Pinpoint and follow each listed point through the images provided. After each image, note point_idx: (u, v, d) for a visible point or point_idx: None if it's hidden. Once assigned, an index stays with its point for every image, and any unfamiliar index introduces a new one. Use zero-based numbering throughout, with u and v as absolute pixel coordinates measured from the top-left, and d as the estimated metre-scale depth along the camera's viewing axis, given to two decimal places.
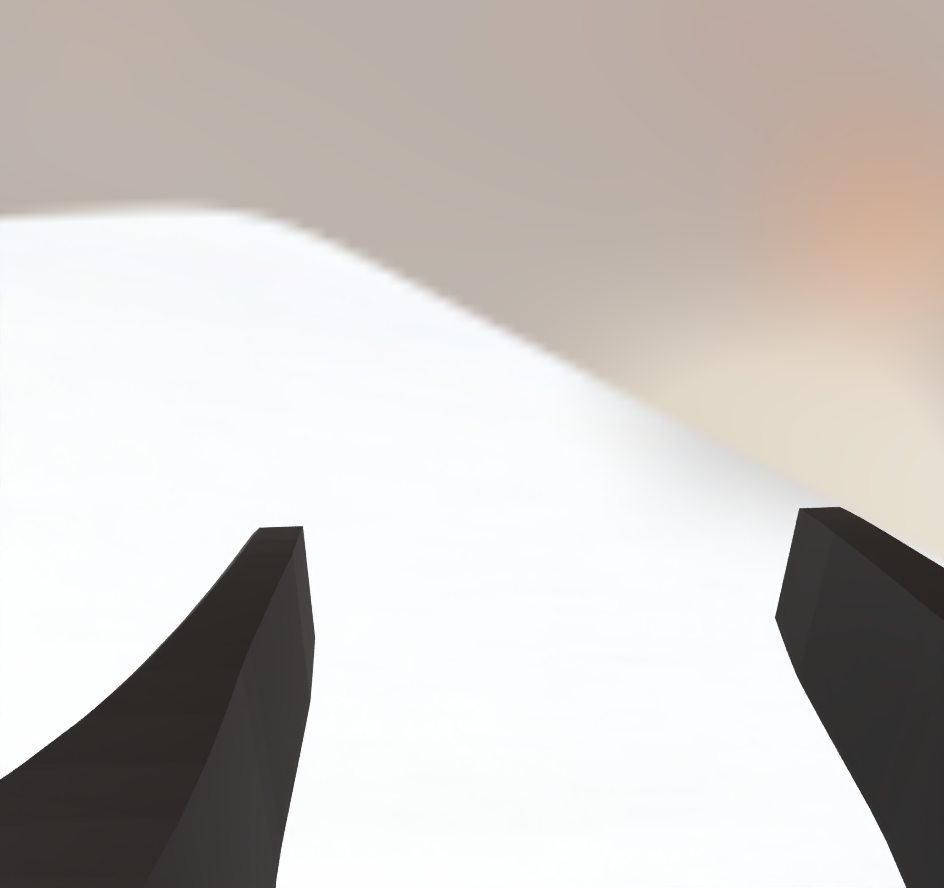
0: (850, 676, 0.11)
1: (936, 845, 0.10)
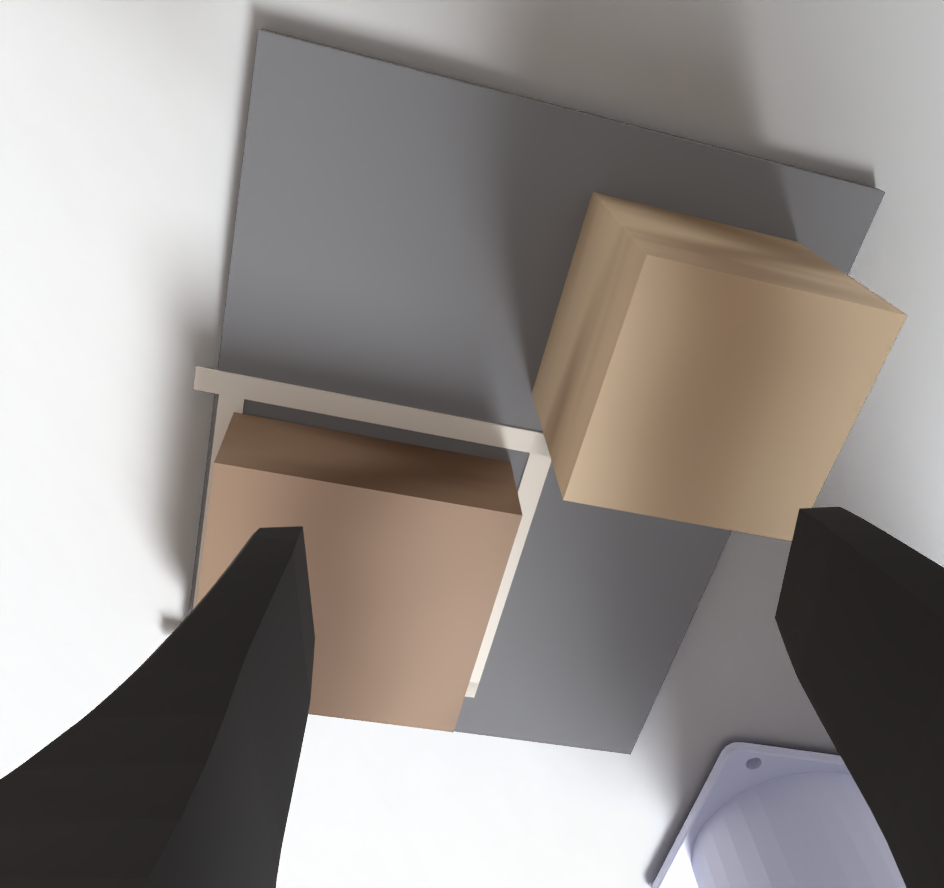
0: (850, 676, 0.11)
1: (936, 845, 0.10)
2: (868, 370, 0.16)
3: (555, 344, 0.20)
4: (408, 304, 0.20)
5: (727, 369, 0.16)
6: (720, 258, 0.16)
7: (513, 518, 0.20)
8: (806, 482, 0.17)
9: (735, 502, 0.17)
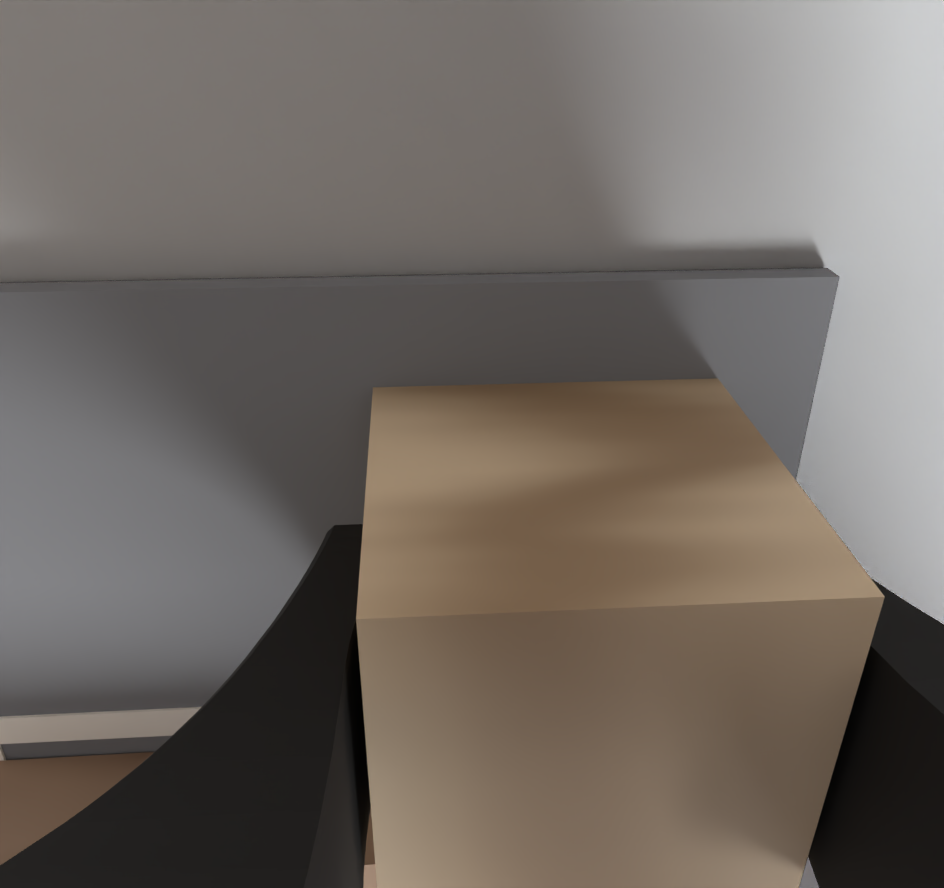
0: None
1: (845, 851, 0.10)
2: (837, 687, 0.09)
3: None
4: (166, 588, 0.14)
5: (578, 737, 0.09)
6: (529, 540, 0.09)
7: None
8: (781, 846, 0.10)
9: None
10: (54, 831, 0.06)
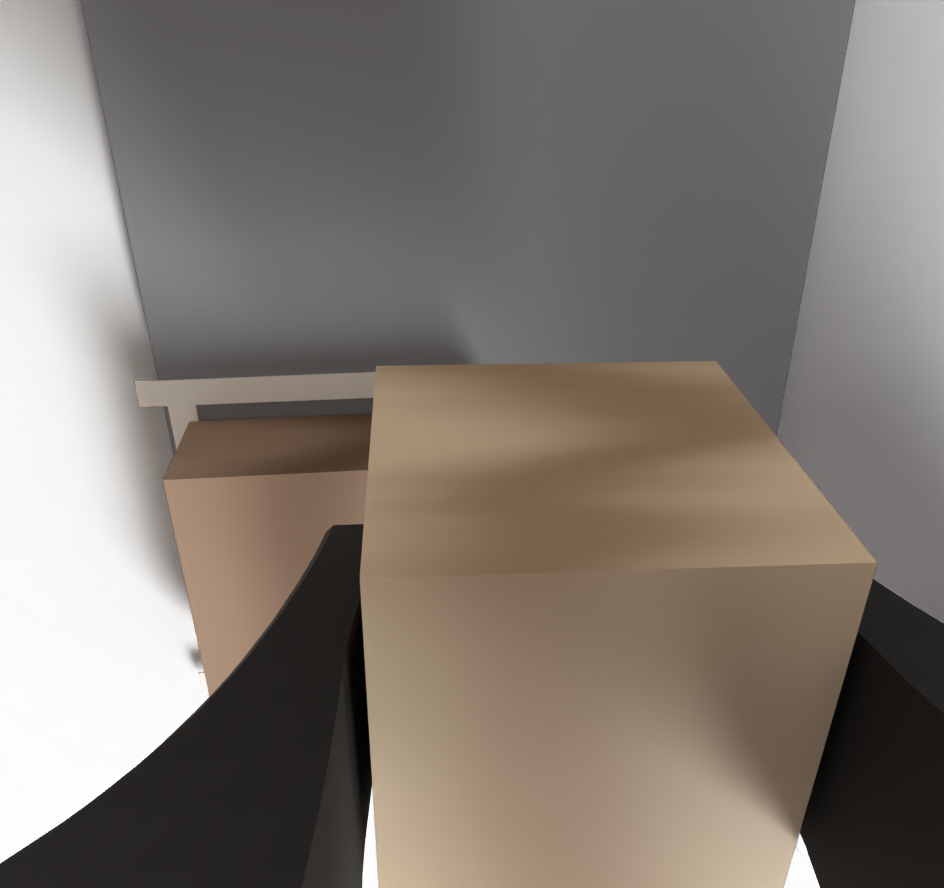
0: None
1: (846, 852, 0.10)
2: (831, 653, 0.09)
3: None
4: (337, 257, 0.18)
5: (575, 701, 0.09)
6: (530, 508, 0.09)
7: None
8: (774, 815, 0.10)
9: (663, 862, 0.10)
10: (51, 831, 0.06)
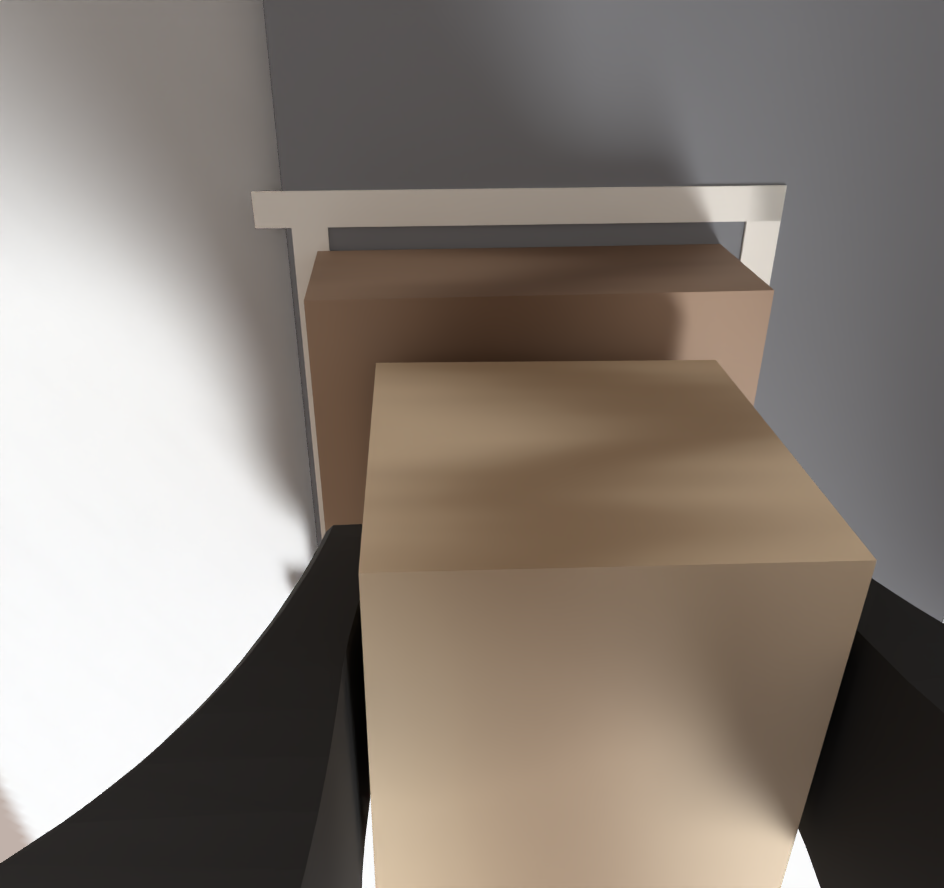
0: None
1: (846, 851, 0.10)
2: (829, 651, 0.09)
3: None
4: (534, 16, 0.13)
5: (573, 698, 0.09)
6: (529, 504, 0.09)
7: (761, 298, 0.13)
8: (772, 814, 0.10)
9: (660, 860, 0.10)
10: (51, 830, 0.06)
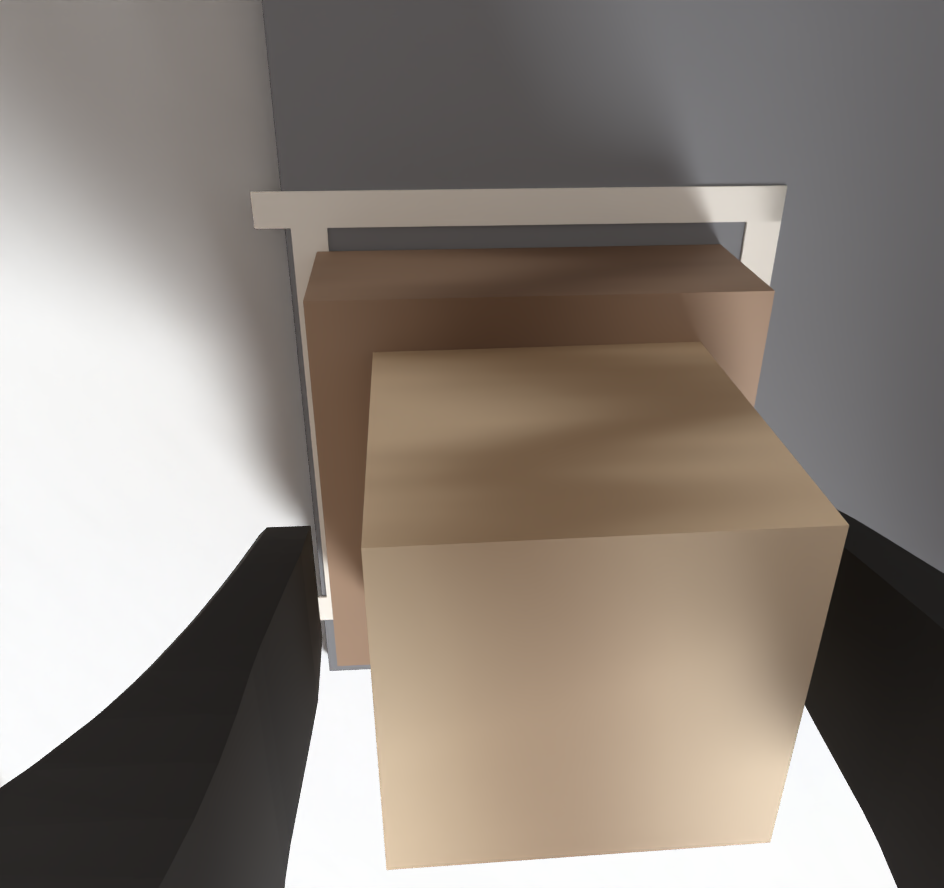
0: (842, 676, 0.11)
1: (926, 847, 0.10)
2: (808, 613, 0.09)
3: None
4: (533, 16, 0.13)
5: (567, 662, 0.10)
6: (521, 482, 0.10)
7: (761, 298, 0.13)
8: (759, 771, 0.11)
9: (655, 818, 0.11)
10: None
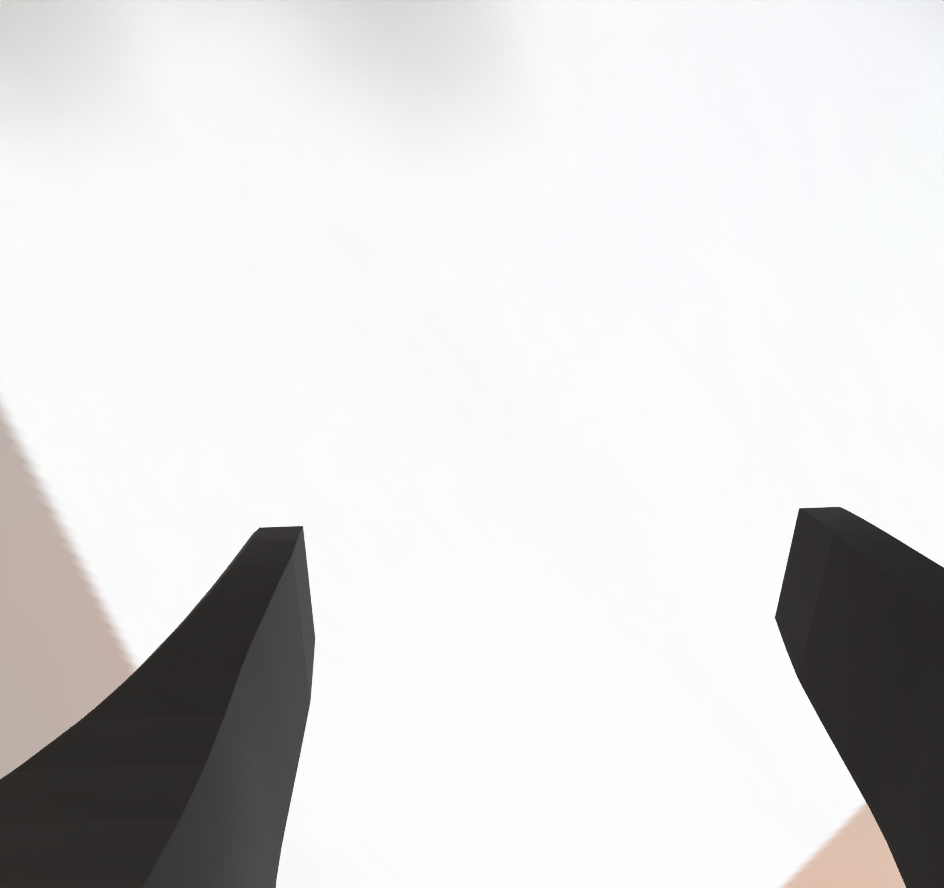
0: (850, 676, 0.11)
1: (936, 845, 0.10)
2: None
3: None
4: None
5: None
6: None
7: None
8: None
9: None
10: None
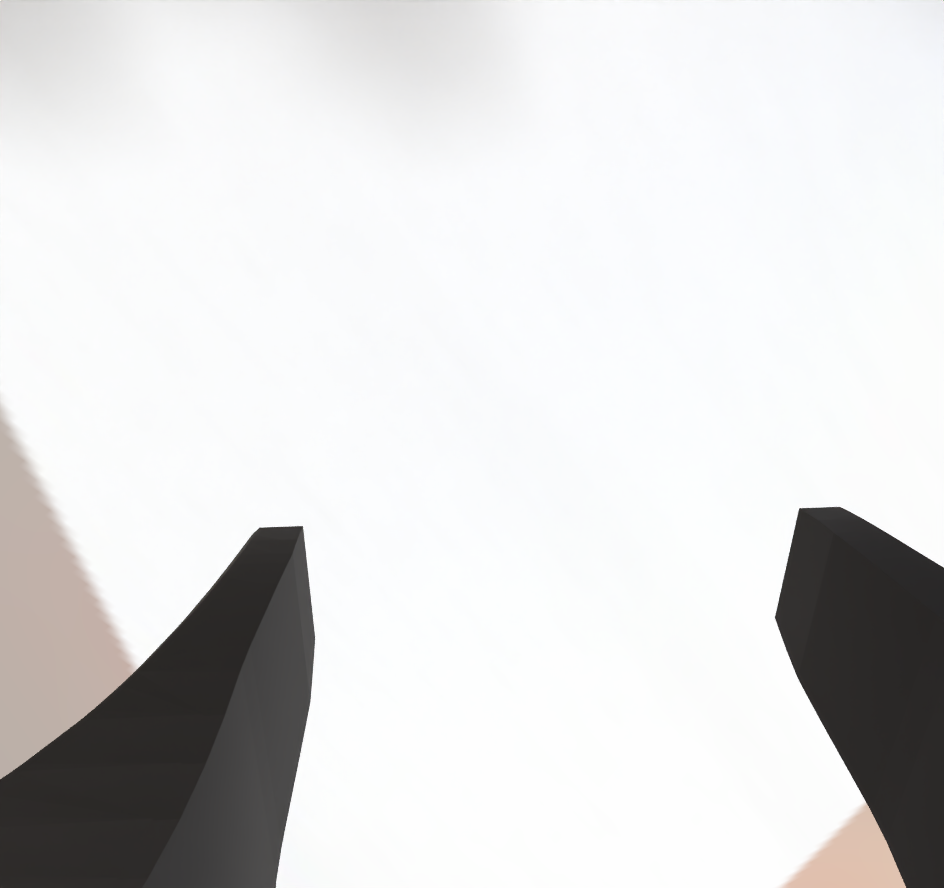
0: (850, 676, 0.11)
1: (936, 846, 0.10)
2: None
3: None
4: None
5: None
6: None
7: None
8: None
9: None
10: None
